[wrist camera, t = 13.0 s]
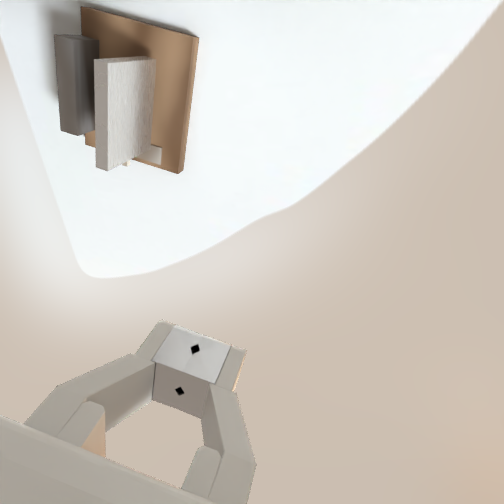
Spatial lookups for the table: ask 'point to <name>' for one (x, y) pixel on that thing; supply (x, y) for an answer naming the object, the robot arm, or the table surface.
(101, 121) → the brushed metal plate
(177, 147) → the base
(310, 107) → the table surface
